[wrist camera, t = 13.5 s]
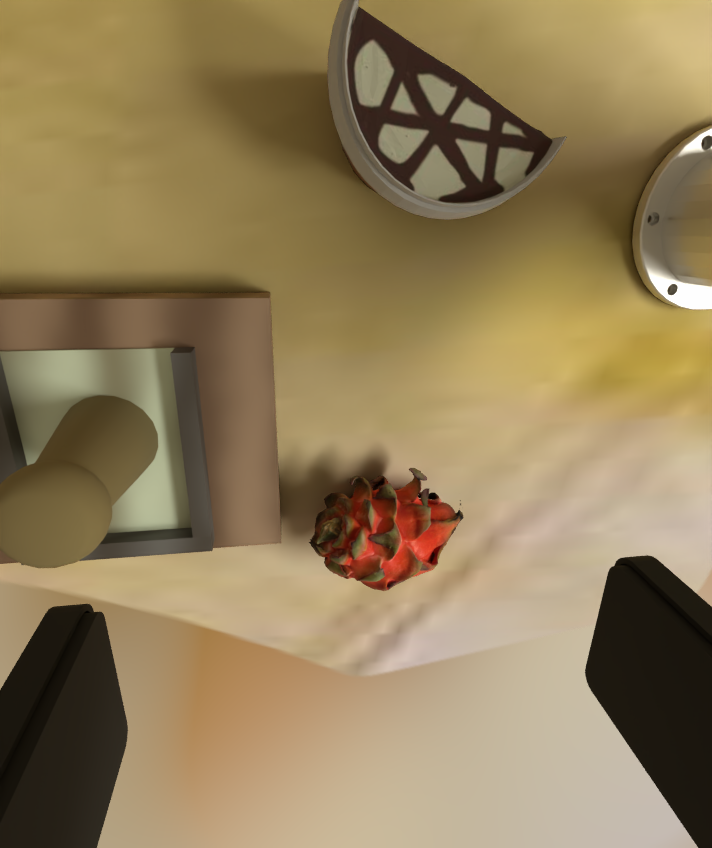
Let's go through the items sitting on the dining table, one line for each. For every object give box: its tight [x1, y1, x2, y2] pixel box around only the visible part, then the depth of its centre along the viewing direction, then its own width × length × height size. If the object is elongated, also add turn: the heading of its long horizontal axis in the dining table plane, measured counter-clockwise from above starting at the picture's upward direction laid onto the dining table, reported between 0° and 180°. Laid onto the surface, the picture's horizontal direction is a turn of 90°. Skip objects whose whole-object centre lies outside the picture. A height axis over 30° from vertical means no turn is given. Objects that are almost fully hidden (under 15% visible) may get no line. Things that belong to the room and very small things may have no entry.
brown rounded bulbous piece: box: [0, 395, 158, 568], centre depth 28 cm, size 6×6×11 cm
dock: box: [0, 292, 281, 565], centre depth 34 cm, size 22×18×4 cm
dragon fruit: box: [309, 468, 463, 591], centre depth 38 cm, size 8×8×12 cm
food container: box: [327, 0, 567, 220], centre depth 28 cm, size 12×6×10 cm, turn 63°
